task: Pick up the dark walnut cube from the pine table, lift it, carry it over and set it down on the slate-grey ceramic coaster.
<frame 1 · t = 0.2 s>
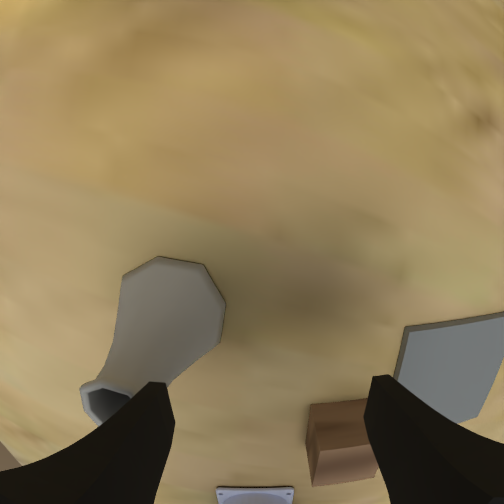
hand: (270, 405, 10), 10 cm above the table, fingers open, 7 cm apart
walnut cube: (337, 421, 22), on the table
flask: (172, 307, 20), on the table
coaster: (448, 379, 21), on the table
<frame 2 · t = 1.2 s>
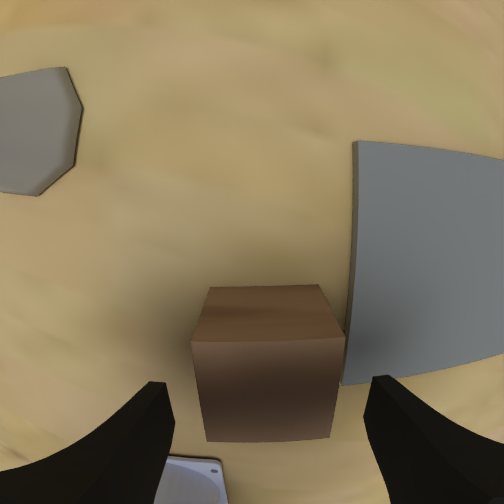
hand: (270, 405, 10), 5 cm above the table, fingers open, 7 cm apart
walnut cube: (265, 332, 15), on the table
flask: (34, 131, 13), on the table
coaster: (451, 268, 14), on the table
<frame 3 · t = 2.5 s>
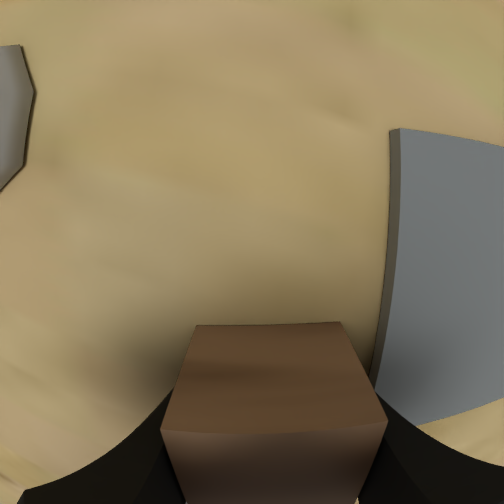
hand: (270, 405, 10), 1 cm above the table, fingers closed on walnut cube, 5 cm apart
walnut cube: (268, 381, 11), on the table, touching gripper
coaster: (497, 293, 10), on the table
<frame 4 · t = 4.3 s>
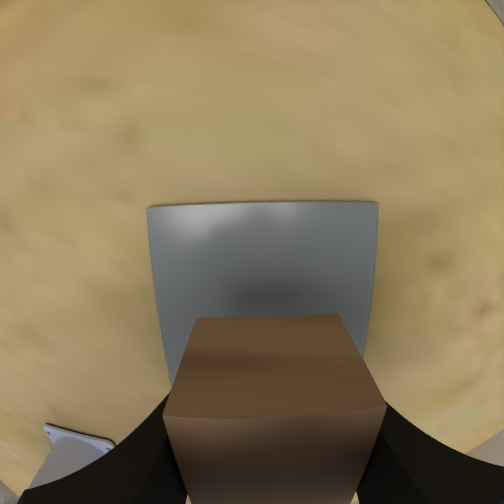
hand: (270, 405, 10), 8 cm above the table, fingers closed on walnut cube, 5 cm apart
walnut cube: (268, 373, 11), point 6 cm above the table, touching gripper
coaster: (264, 308, 18), on the table
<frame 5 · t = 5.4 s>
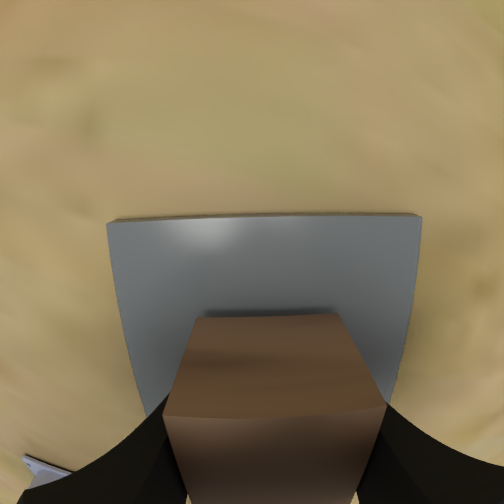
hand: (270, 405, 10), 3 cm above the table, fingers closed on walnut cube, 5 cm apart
walnut cube: (268, 373, 11), point 2 cm above the table, touching gripper
coaster: (267, 353, 13), on the table
when the fingers open (3 cm above the table, at t = 6.0 s): walnut cube stays where it is, resting on coaster.
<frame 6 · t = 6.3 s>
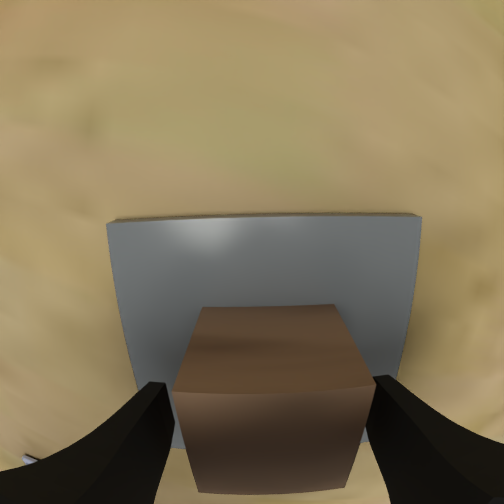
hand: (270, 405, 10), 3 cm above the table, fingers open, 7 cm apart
walnut cube: (268, 360, 12), point 1 cm above the table, touching coaster
coaster: (267, 353, 13), on the table
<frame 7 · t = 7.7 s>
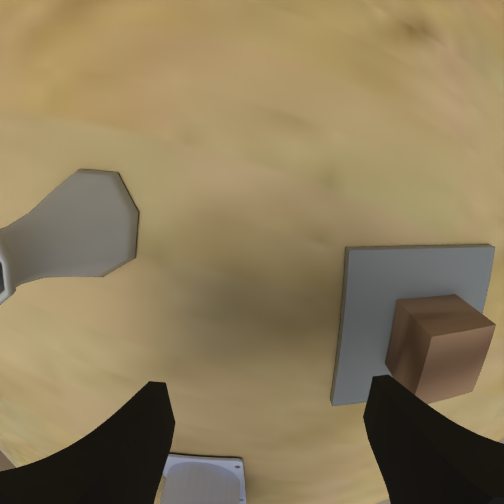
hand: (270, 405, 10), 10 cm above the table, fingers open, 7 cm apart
walnut cube: (421, 329, 19), point 1 cm above the table, touching coaster
flask: (93, 222, 19), on the table
coaster: (415, 326, 20), on the table
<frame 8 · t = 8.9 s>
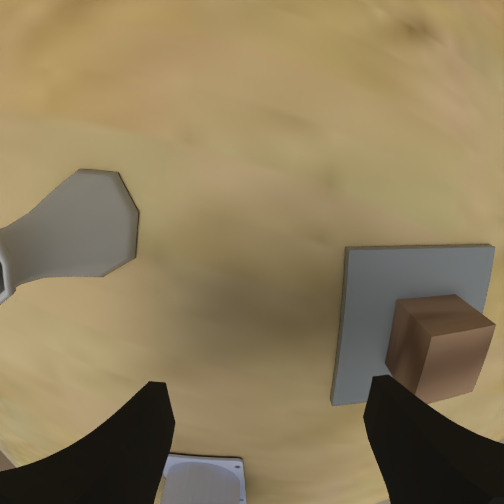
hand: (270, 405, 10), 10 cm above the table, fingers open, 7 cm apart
walnut cube: (421, 329, 19), point 1 cm above the table, touching coaster
flask: (93, 222, 19), on the table
coaster: (415, 326, 20), on the table
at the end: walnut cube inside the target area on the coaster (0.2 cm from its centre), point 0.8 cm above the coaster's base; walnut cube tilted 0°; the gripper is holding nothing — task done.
